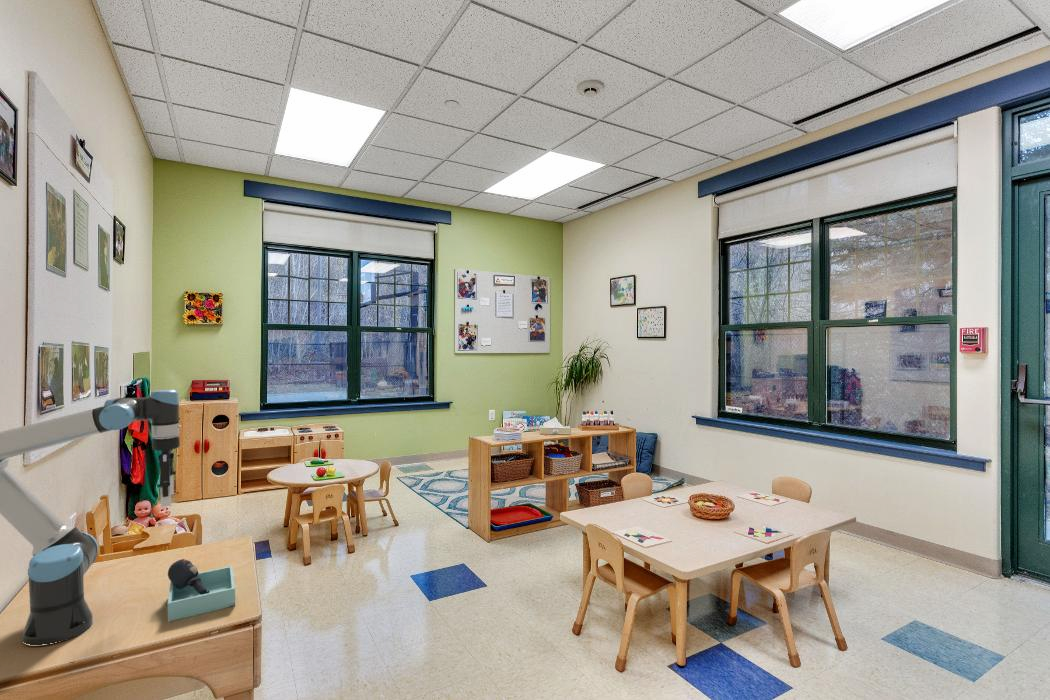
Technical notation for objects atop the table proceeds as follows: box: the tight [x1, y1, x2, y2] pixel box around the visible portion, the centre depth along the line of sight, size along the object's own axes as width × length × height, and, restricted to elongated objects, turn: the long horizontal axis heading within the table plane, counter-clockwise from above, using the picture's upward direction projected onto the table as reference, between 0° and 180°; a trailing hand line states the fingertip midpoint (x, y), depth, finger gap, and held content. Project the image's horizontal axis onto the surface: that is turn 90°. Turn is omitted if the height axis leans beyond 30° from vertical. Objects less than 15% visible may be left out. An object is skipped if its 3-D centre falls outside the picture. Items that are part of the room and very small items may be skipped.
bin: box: [167, 565, 236, 622], centre depth 169 cm, size 18×19×6 cm
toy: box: [167, 558, 210, 595], centre depth 170 cm, size 9×8×15 cm
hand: (167, 500), depth 174 cm, fingers open, 13 cm apart
